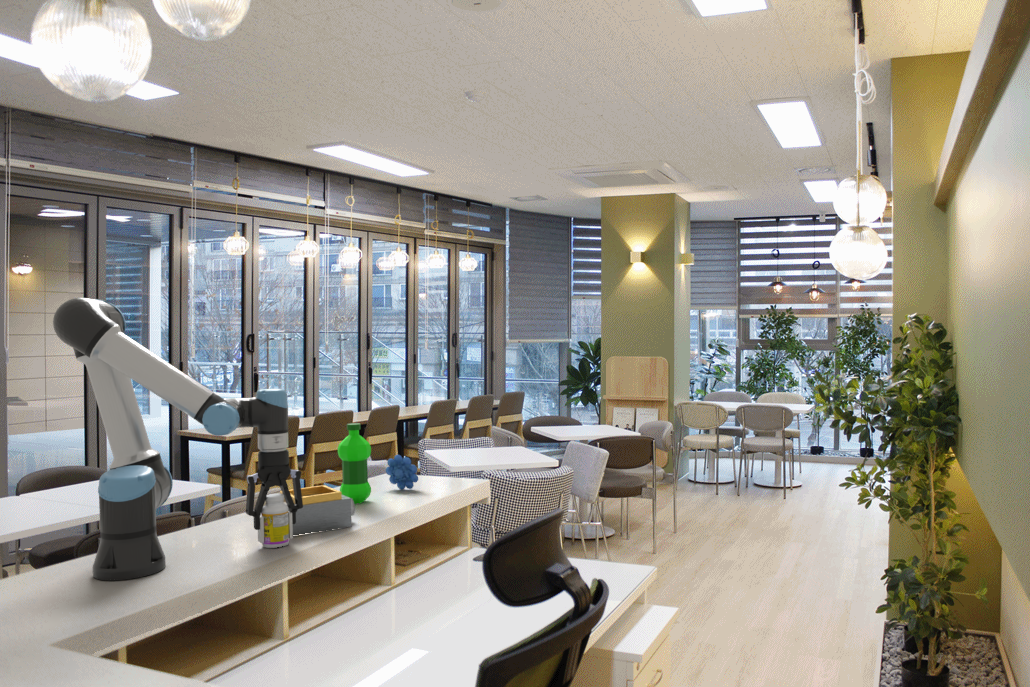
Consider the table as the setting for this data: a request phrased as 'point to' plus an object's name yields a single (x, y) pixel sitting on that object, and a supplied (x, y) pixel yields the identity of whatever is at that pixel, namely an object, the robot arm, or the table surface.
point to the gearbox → (322, 510)
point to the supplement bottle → (275, 521)
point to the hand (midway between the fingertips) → (275, 539)
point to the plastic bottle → (355, 465)
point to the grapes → (402, 472)
